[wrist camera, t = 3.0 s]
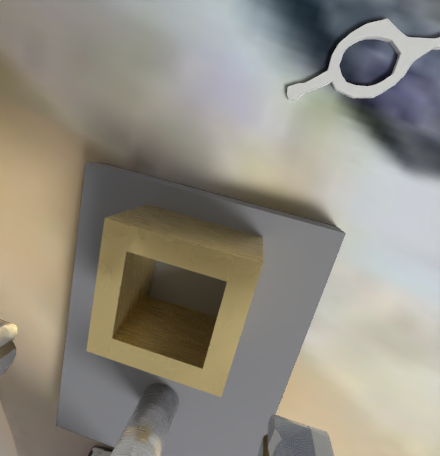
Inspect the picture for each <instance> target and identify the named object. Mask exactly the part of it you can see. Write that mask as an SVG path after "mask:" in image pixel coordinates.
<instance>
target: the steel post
mask: <svg viewBox="0 0 440 456" xmlns="http://www.w3.org/2000/svg"><path fill="white" fill-rule="evenodd" d="M178 405H179V398H178V395H177V393H176V392H175V391H174V390H173V389H172V388H171V387H170V386H168V385H166V384H162V383H153V384H150V385H149V386H147V387H146V389H145V390H144V392H143V394H142V396H141V398H140V400H139V402H138V404H137V406H136V407H135V409H134V411H133V413H132V415H131V417H130V419H129V421H128V423H127V424H126V426H125V428H124V430H123V432H122V434H121V436H120V438H119V440H118V442H117V443H116V445H115V447H114V449H113V451H112V453H111V455H110V456H161V454H162V451H163V448H164V445H165V442H166V440H167V437H168V434H169V431H170V428H171V425H172V423H173V420H174V417H175V414H176V411H177V408H178Z"/></svg>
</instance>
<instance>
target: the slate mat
mask: <svg viewBox="0 0 440 456" xmlns="http://www.w3.org/2000/svg"><path fill="white" fill-rule="evenodd" d="M146 204H149V205H152V206H156V207H159V208H163V209H166V210H170V211H173V212H177V213H180V214H184V215H187V216H191V217H195V218H198V219H202V220H205V221H209V222H212V223H216V224H219V225H223V226H226V227H230V228H234V229H237V230H241V231H244V232H248V233H251V234H255V235H258V236H262V237H263V266H262V269H261V272H260V275H259V278H258V282H257V285H256V288H255V291H254V294H253V298H252V301H251V304H250V307H249V310H248V314H247V317H246V320H245V323H244V326H243V330H242V333H241V336H240V339H239V342H238V346H237V349H236V352H235V355H234V358H233V361H232V365H231V368H230V371H229V374H228V377H227V381H226V384H225V387H224V390H223V393H222V397H218V396H216V395H213V394H210V393H207V392H204V391H201V390H198V389H195V388H192V387H189V386H186V385H184V384H181V383H178V382H175V381H172V380H169V379H166V378H163V377H160V376H157V375H155V374H152V373H149V372H146V371H143V370H140V369H137V368H134V367H131V366H128V365H125V364H123V363H120V362H117V361H114V360H111V359H108V358H105V357H102V356H99V355H96V354H93V353H91V352H88V351H86V350H87V343H88V335H89V328H90V321H91V314H92V306H93V299H94V292H95V285H96V277H97V270H98V263H99V256H100V249H101V241H102V234H103V227H104V220H105V218H106V217H109V216H112V215H115V214H118V213H121V212H124V211H128V210H131V209H134V208H137V207H140V206H143V205H146ZM345 234H346V233H344V232H343V231H342V230H341V229H339V228H338V227H336V226H332V225H329V224H325V223H321V222H318V221H314V220H310V219H307V218H303V217H299V216H296V215H292V214H288V213H285V212H281V211H277V210H273V209H270V208H266V207H262V206H259V205H255V204H251V203H248V202H244V201H240V200H237V199H233V198H229V197H226V196H222V195H218V194H215V193H211V192H207V191H204V190H200V189H196V188H193V187H189V186H185V185H181V184H178V183H174V182H170V181H167V180H163V179H159V178H156V177H152V176H148V175H145V174H141V173H137V172H134V171H130V170H126V169H123V168H119V167H115V166H112V165H108V164H104V163H87V162H86V164H85V173H84V182H83V191H82V200H81V208H80V217H79V226H78V235H77V244H76V253H75V262H74V271H73V279H72V288H71V297H70V306H69V315H68V324H67V333H66V342H65V351H64V359H63V368H62V377H61V386H60V395H59V404H58V413H57V422H56V426H58V427H61V428H64V429H66V430H69V431H72V432H74V433H77V434H80V435H82V436H85V437H88V438H90V439H93V440H96V441H98V442H101V443H103V444H106V445H109V446H111V447H115V445H116V443H117V442H118V440H119V438H120V436H121V434H122V432H123V430H124V428H125V426H126V424H127V423H128V421H129V419H130V417H131V415H132V413H133V411H134V409H135V407H136V406H137V404H138V402H139V400H140V398H141V396H142V394H143V392H144V390H145V389H146V387H147V386H149V385H150V384H153V383H162V384H166V385H168V386H170V387H171V388H172V389H173V390H174V391H175V392H176V393H177V395H178V398H179V405H178V408H177V411H176V414H175V417H174V420H173V423H172V425H171V428H170V431H169V434H168V437H167V440H166V442H165V445H164V448H163V451H162V454H161V456H258V453H259V448H260V444H261V441H262V438H263V436H265V435H266V434H268V422H269V419H270V417H271V416H272V414H274V415H275V414H276V411H277V409H278V406H279V404H280V401H281V398H282V396H283V393H284V391H285V388H286V386H287V383H288V380H289V378H290V375H291V373H292V370H293V368H294V365H295V362H296V360H297V357H298V355H299V352H300V349H301V347H302V344H303V342H304V339H305V337H306V334H307V331H308V329H309V326H310V324H311V321H312V319H313V316H314V313H315V311H316V308H317V306H318V303H319V301H320V298H321V295H322V293H323V290H324V288H325V285H326V283H327V280H328V277H329V275H330V272H331V270H332V267H333V265H334V262H335V259H336V257H337V254H338V252H339V249H340V247H341V244H342V241H343V239H344V236H345ZM226 284H227V281H223V280H220V279H217V278H213V277H210V276H207V275H203V274H200V273H197V272H193V271H190V270H187V269H184V268H180V267H177V266H174V265H170V264H167V263H164V262H160V261H157V260H156V265H155V270H154V275H153V280H152V285H151V290H150V295H149V296H151V297H154V298H157V299H161V300H164V301H167V302H170V303H173V304H176V305H180V306H183V307H186V308H189V309H192V310H195V311H199V312H202V313H205V314H208V315H211V316H214V317H217V316H218V313H219V309H220V306H221V302H222V299H223V295H224V291H225V288H226Z"/></svg>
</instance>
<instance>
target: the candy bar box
mask: <svg viewBox="0 0 440 456" xmlns="http://www.w3.org/2000/svg"><path fill="white" fill-rule="evenodd" d="M112 451H113V450H110V449H106V448H99V447H93V448H92V450H91V452H90V453H89V455H88V456H110V455H111V453H112Z"/></svg>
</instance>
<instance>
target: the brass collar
mask: <svg viewBox="0 0 440 456" xmlns="http://www.w3.org/2000/svg"><path fill="white" fill-rule="evenodd" d="M156 260H157V261H160V262H164V263H167V264H170V265H174V266H177V267H180V268H184V269H187V270H190V271H193V272H197V273H200V274H203V275H207V276H210V277H213V278H217V279H220V280H223V281H227V284H226V288H225V291H224V295H223V299H222V302H221V306H220V309H219V313H218V316H217V317H214V316H211V315H208V314H205V313H202V312H199V311H195V310H192V309H189V308H186V307H183V306H180V305H176V304H173V303H170V302H167V301H164V300H161V299H157V298H154V297H151V296H149V295H150V290H151V285H152V280H153V275H154V270H155V265H156ZM262 266H263V237H262V236H258V235H255V234H251V233H248V232H244V231H241V230H237V229H234V228H230V227H226V226H223V225H219V224H216V223H212V222H209V221H205V220H202V219H198V218H195V217H191V216H187V215H184V214H180V213H177V212H173V211H170V210H166V209H163V208H159V207H156V206H152V205H149V204H146V205H143V206H140V207H137V208H134V209H131V210H128V211H124V212H121V213H118V214H115V215H112V216H109V217H106V218H105V220H104V227H103V234H102V241H101V249H100V256H99V263H98V270H97V277H96V285H95V292H94V299H93V306H92V314H91V321H90V328H89V335H88V343H87V350H86V351H88V352H91V353H93V354H96V355H99V356H102V357H105V358H108V359H111V360H114V361H117V362H120V363H123V364H125V365H128V366H131V367H134V368H137V369H140V370H143V371H146V372H149V373H152V374H155V375H157V376H160V377H163V378H166V379H169V380H172V381H175V382H178V383H181V384H184V385H186V386H189V387H192V388H195V389H198V390H201V391H204V392H207V393H210V394H213V395H216V396H218V397H222V393H223V390H224V387H225V384H226V381H227V377H228V374H229V371H230V368H231V365H232V361H233V358H234V355H235V352H236V349H237V346H238V342H239V339H240V336H241V333H242V330H243V326H244V323H245V320H246V317H247V314H248V310H249V307H250V304H251V301H252V298H253V294H254V291H255V288H256V285H257V282H258V278H259V275H260V272H261V269H262Z"/></svg>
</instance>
